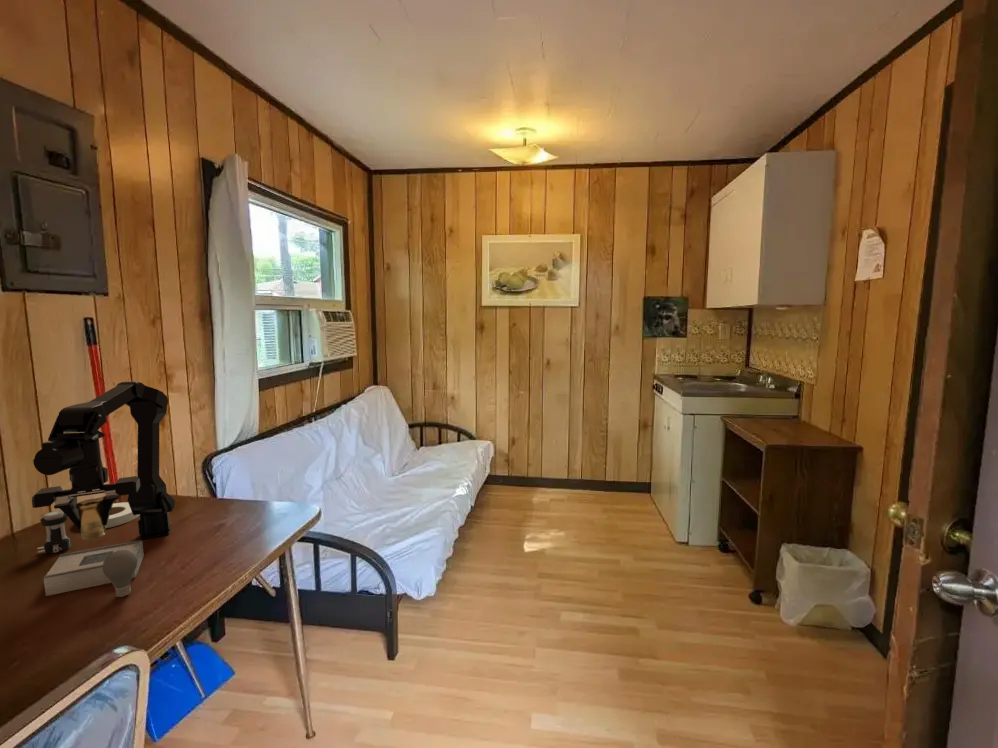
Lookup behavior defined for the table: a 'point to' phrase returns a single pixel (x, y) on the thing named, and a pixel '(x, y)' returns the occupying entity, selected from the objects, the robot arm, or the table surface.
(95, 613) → the table surface
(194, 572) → the table surface
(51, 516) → the push button
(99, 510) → the door knob
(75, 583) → the jig
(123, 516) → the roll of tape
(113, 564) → the light bulb
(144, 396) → the robot arm
